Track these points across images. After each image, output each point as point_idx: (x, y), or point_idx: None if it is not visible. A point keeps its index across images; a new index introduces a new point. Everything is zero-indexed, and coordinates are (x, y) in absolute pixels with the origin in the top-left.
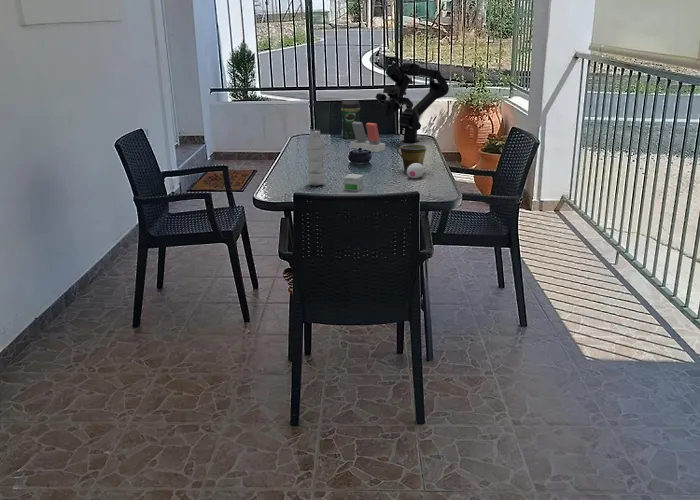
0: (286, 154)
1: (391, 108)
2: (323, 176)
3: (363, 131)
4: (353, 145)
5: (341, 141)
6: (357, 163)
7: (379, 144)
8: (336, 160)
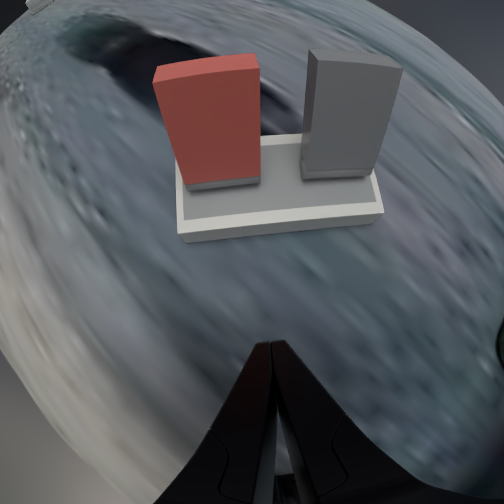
0: (376, 7)
1: (191, 458)
2: None
3: (308, 118)
4: None
5: (494, 243)
6: (122, 40)
7: (183, 186)
8: (203, 18)
